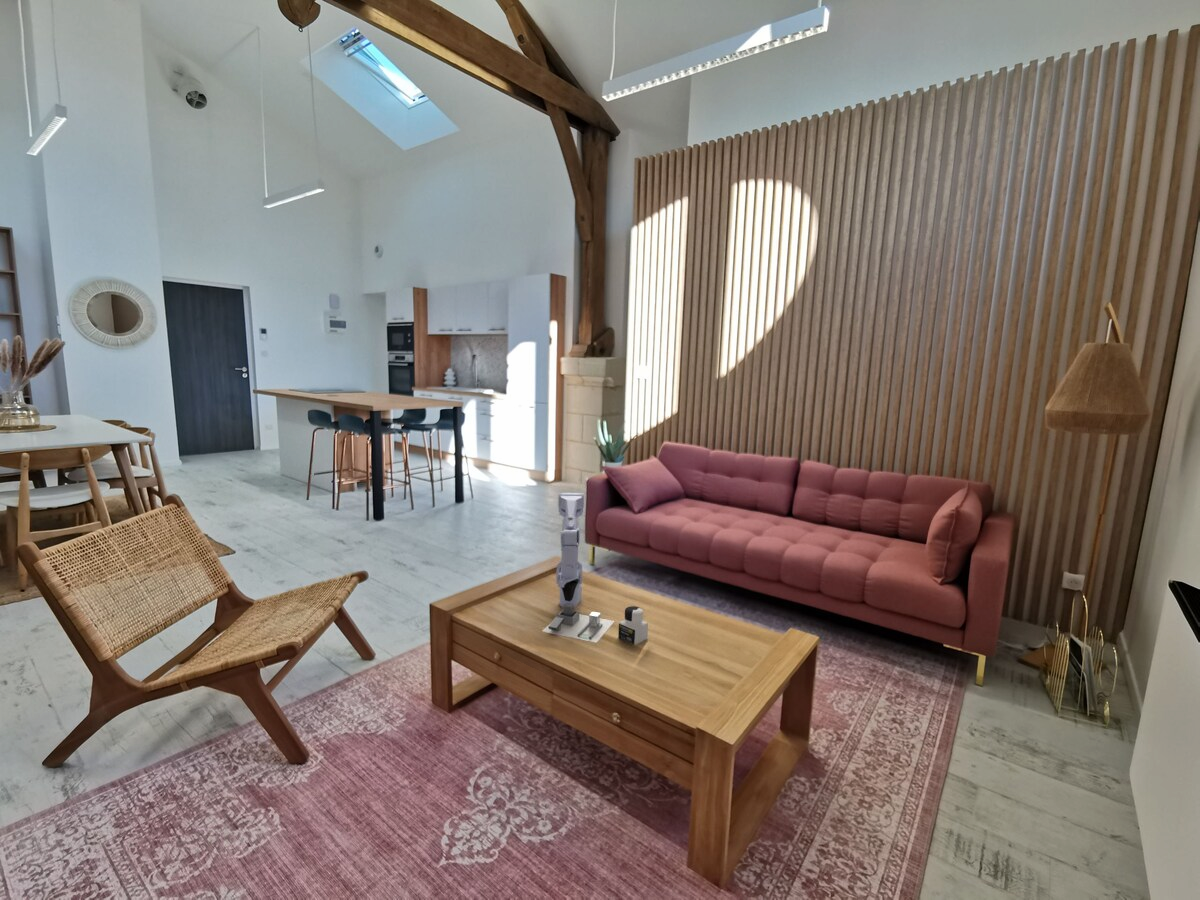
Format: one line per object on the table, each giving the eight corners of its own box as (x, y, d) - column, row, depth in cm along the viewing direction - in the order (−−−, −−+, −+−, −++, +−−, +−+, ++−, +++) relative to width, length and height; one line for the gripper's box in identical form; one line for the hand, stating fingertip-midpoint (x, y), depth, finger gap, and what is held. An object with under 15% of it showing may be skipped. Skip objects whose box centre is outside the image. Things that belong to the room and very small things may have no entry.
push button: (565, 613, 211) (565, 602, 210) (575, 615, 209) (576, 604, 209) (560, 617, 207) (561, 607, 206) (571, 619, 206) (571, 609, 205)
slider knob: (592, 622, 207) (592, 611, 206) (600, 624, 206) (600, 613, 205) (588, 625, 204) (589, 615, 203) (597, 627, 203) (597, 616, 202)
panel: (563, 615, 217) (563, 603, 216) (614, 624, 210) (614, 613, 209) (541, 635, 200) (541, 623, 199) (596, 646, 193) (596, 634, 192)
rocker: (556, 619, 204) (555, 616, 204) (563, 620, 203) (563, 618, 203) (548, 628, 199) (548, 626, 199) (556, 630, 198) (556, 628, 198)
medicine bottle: (617, 642, 197) (618, 608, 195) (631, 635, 202) (632, 602, 200) (634, 649, 192) (635, 615, 190) (647, 642, 197) (649, 608, 195)
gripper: (567, 555, 213) (566, 590, 215) (550, 567, 200) (549, 605, 202) (585, 558, 211) (584, 594, 213) (569, 570, 197) (568, 609, 199)
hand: (568, 600), depth 207 cm, fingers closed
